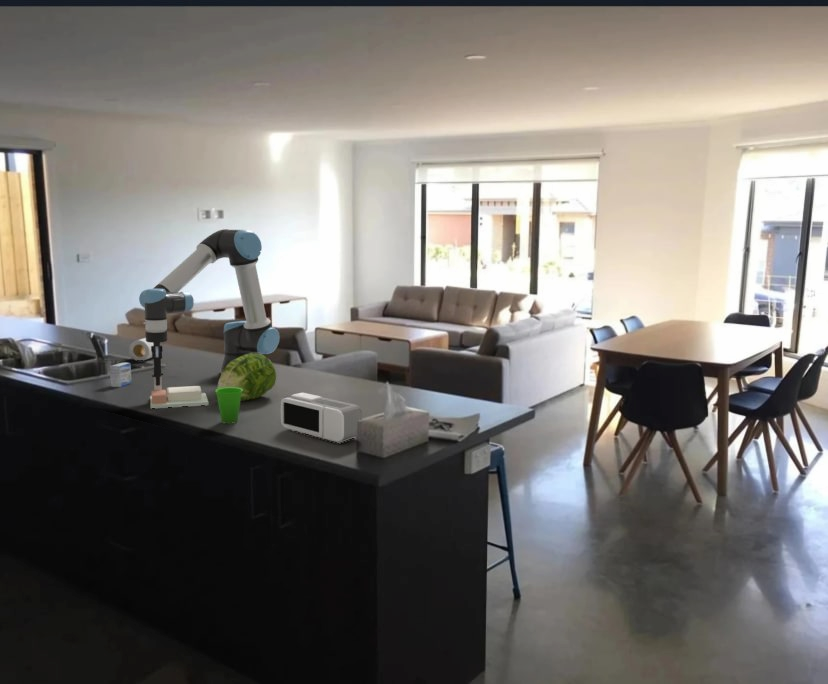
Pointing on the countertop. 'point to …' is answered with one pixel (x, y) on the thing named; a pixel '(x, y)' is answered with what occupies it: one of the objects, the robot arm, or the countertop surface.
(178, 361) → the countertop surface
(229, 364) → the lettuce
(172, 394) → the cream flat block
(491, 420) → the countertop surface
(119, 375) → the medicine box
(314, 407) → the alarm clock
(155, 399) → the pink rectangular block
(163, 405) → the board
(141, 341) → the toilet paper
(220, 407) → the cup
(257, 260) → the robot arm
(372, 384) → the countertop surface
